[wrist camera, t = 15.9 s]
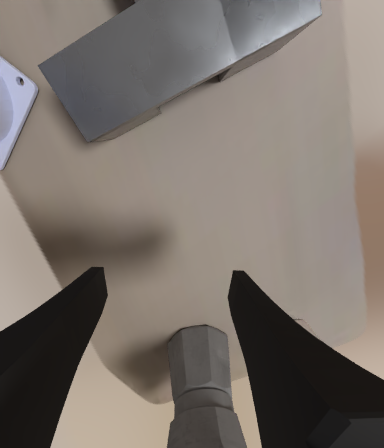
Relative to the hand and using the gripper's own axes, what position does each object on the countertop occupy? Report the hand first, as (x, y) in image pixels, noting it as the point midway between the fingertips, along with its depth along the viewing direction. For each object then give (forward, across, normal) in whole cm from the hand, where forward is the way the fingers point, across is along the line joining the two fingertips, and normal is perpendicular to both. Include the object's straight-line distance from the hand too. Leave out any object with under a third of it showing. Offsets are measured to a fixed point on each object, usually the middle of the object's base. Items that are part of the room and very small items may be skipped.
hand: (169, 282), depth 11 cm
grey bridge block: (+9, 0, -12) cm, 15 cm away
